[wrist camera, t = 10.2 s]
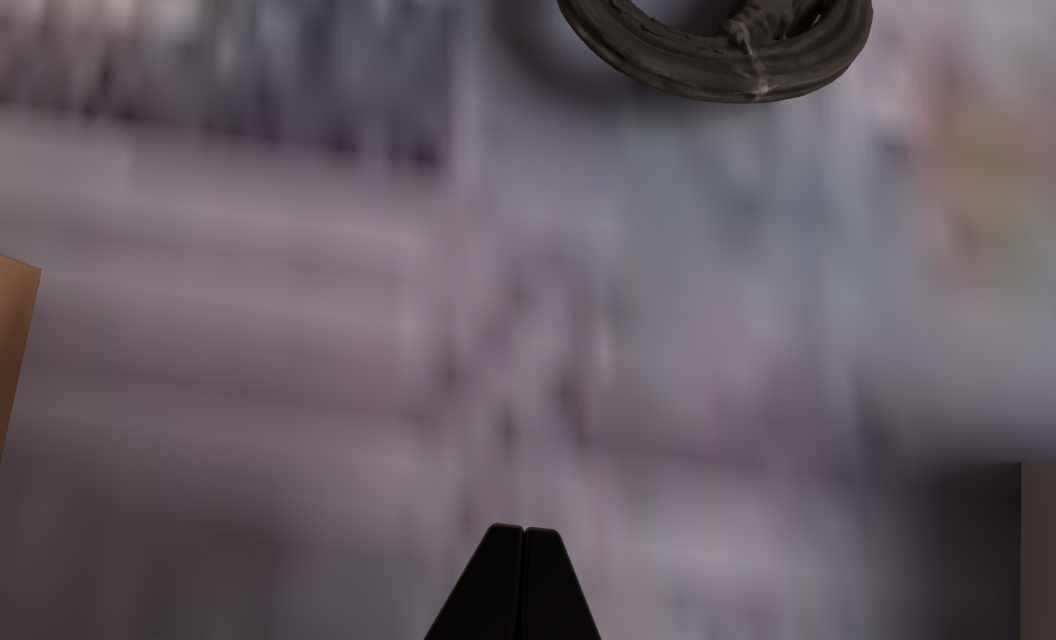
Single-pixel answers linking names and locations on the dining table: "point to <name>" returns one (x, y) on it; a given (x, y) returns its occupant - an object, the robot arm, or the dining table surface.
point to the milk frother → (729, 47)
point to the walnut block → (13, 328)
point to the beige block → (1038, 551)
